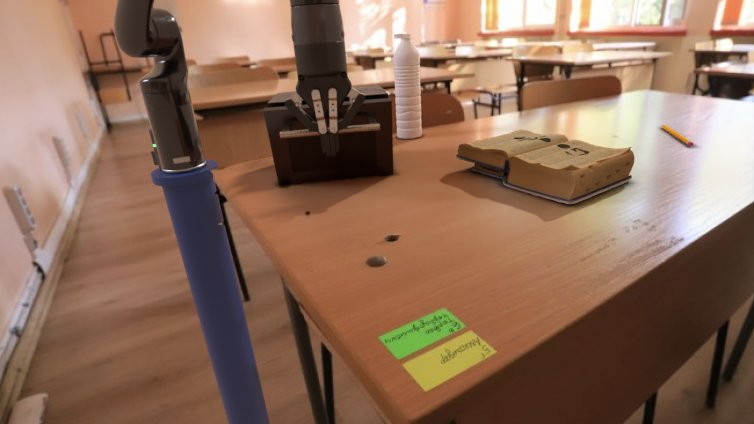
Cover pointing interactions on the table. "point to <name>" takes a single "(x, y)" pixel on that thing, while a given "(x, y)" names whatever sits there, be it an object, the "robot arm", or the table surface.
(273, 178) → the table surface
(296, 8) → the robot arm
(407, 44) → the water bottle
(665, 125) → the pencil
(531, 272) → the table surface
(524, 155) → the book
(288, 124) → the oven door
